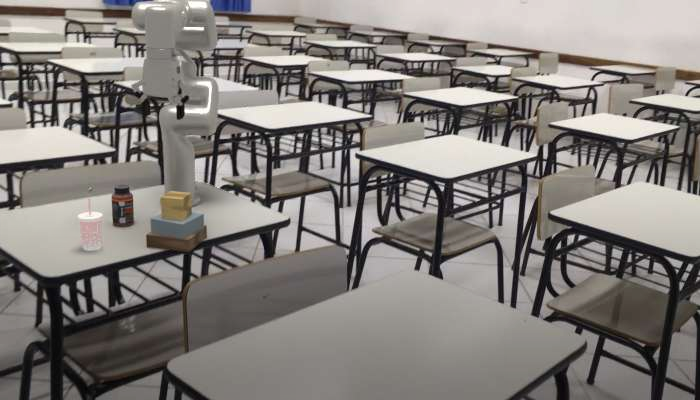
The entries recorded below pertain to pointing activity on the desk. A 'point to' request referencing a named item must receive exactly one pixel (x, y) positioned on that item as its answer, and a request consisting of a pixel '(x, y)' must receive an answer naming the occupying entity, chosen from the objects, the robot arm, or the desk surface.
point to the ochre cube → (176, 205)
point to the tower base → (176, 241)
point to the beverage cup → (91, 229)
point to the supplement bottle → (122, 206)
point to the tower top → (177, 225)
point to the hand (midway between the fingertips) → (163, 117)
